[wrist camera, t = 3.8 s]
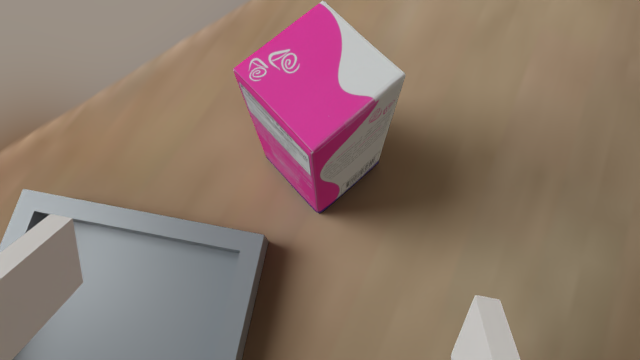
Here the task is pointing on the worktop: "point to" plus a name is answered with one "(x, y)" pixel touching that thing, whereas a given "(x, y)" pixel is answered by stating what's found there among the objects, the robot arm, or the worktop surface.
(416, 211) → the worktop surface
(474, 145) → the worktop surface
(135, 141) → the worktop surface
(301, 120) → the supplement box
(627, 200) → the worktop surface
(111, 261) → the tray
